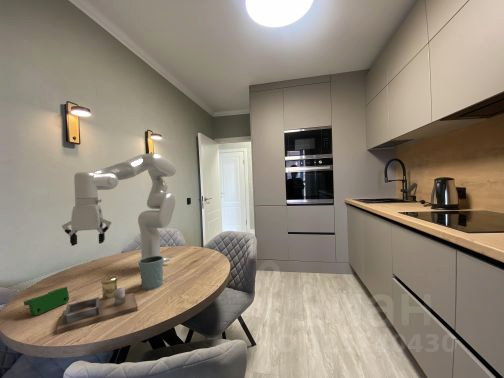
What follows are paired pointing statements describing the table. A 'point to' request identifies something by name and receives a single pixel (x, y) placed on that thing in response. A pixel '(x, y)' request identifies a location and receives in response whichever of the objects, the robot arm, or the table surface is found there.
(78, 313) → the fitting board
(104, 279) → the brass door knob
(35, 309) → the clamp
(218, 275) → the table surface
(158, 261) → the grey-green cup
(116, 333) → the table surface
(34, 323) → the table surface
